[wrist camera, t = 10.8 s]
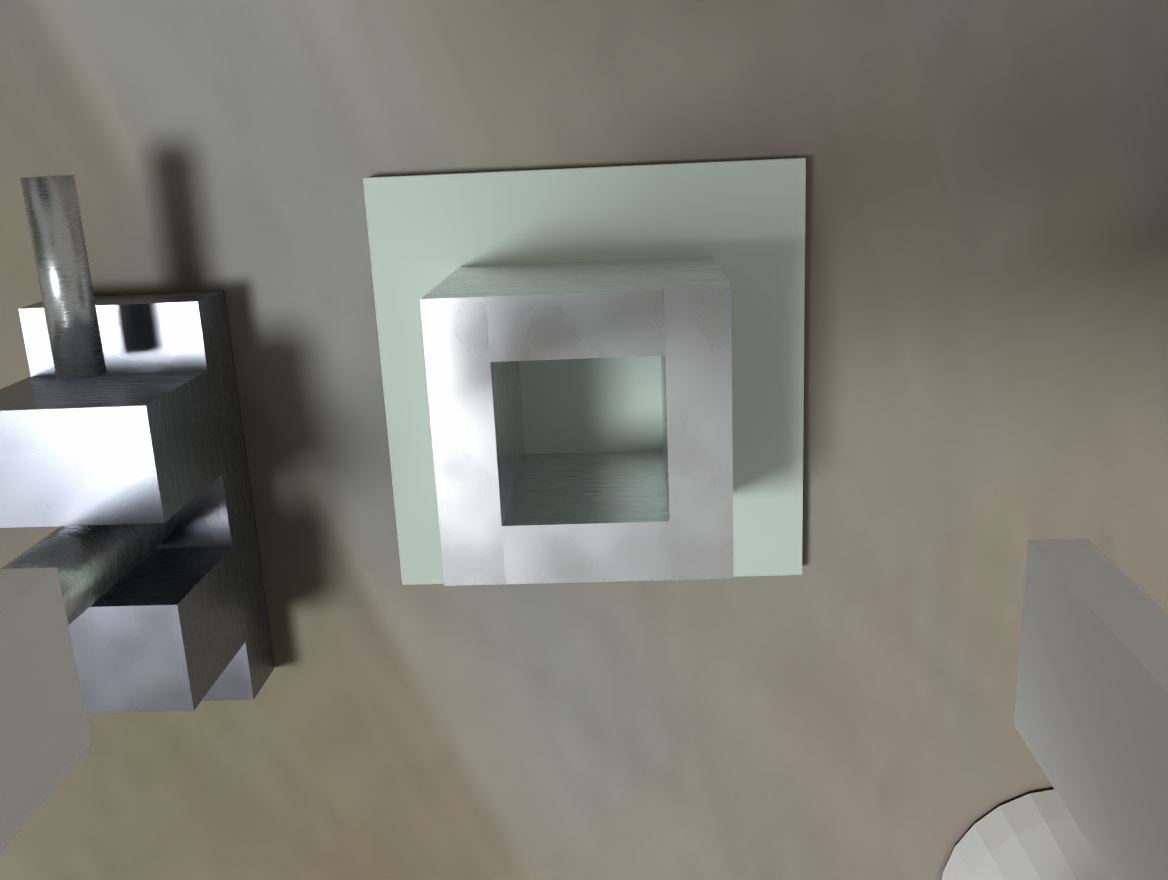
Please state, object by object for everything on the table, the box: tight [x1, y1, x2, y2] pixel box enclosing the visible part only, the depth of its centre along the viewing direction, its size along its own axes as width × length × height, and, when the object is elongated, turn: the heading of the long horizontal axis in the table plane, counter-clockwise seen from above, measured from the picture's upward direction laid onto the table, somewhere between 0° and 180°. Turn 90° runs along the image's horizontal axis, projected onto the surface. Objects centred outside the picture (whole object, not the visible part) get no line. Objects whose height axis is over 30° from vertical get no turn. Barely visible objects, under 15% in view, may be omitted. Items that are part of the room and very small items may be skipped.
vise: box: [0, 175, 274, 713], centre depth 27 cm, size 16×5×14 cm, turn 3°
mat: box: [363, 158, 806, 585], centre depth 32 cm, size 12×12×1 cm
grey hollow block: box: [420, 256, 734, 586], centre depth 29 cm, size 7×7×6 cm
